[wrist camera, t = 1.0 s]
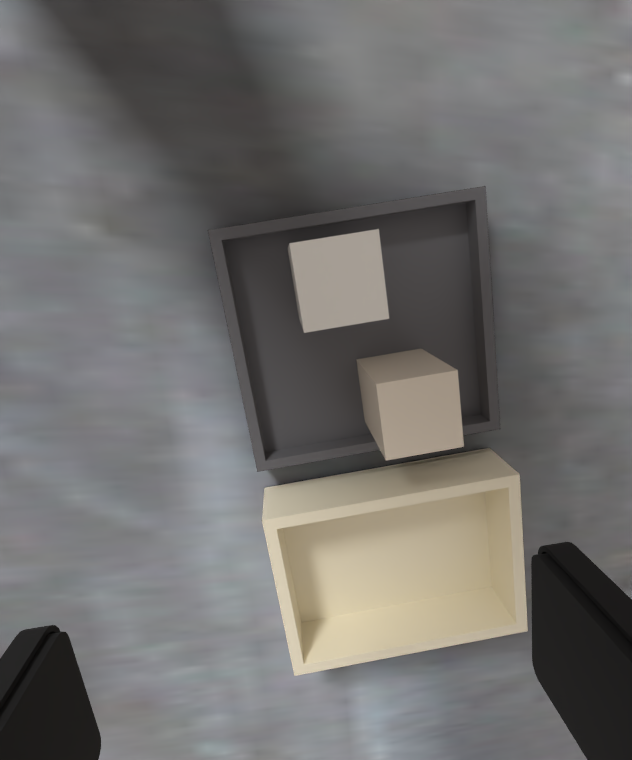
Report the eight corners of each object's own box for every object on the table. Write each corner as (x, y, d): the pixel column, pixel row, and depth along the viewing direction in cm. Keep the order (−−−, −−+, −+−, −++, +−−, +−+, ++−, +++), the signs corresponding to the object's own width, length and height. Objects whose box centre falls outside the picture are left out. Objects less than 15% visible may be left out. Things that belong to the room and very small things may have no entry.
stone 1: (287, 248, 26) (289, 243, 20) (357, 237, 26) (378, 229, 20) (299, 318, 27) (304, 333, 21) (366, 307, 27) (389, 318, 21)
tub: (264, 487, 30) (262, 520, 26) (489, 447, 31) (519, 474, 27) (292, 627, 33) (294, 675, 29) (499, 588, 33) (527, 631, 29)
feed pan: (212, 232, 26) (207, 230, 24) (472, 191, 27) (485, 186, 25) (258, 459, 30) (257, 471, 28) (487, 419, 30) (500, 428, 28)
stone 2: (356, 359, 28) (376, 383, 22) (421, 348, 28) (457, 370, 22) (364, 421, 29) (385, 460, 23) (427, 410, 29) (464, 446, 23)
